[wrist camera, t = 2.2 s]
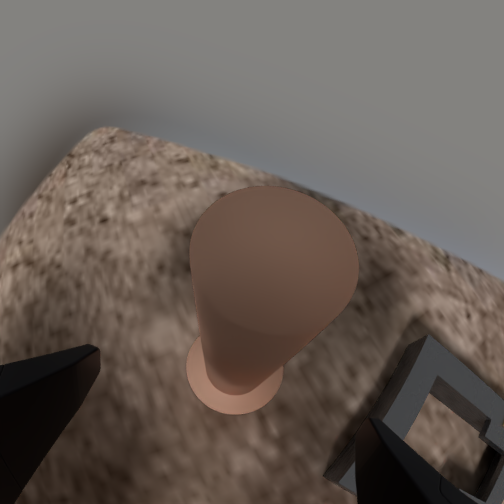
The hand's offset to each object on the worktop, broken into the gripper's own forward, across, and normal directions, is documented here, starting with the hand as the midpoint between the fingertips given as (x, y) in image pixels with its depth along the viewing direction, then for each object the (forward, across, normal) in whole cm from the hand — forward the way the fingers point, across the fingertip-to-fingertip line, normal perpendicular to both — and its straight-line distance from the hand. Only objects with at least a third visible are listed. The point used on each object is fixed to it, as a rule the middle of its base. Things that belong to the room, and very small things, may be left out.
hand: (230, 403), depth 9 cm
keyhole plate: (+6, -18, +9) cm, 21 cm away
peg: (+9, 0, +6) cm, 11 cm away
